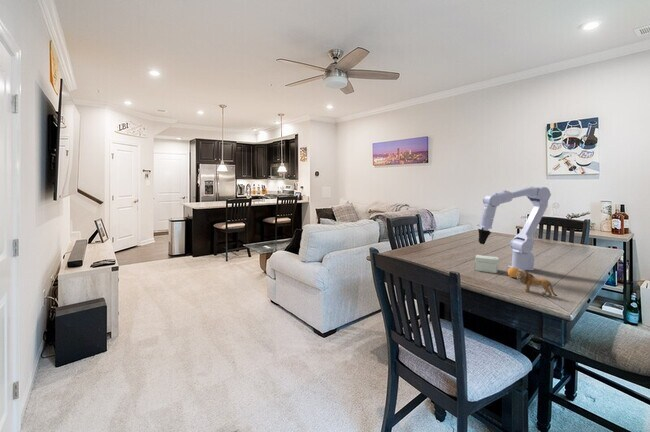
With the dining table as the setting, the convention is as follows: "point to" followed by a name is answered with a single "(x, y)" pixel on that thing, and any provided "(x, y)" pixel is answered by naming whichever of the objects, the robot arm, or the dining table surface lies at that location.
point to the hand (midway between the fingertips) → (481, 243)
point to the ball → (512, 272)
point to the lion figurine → (534, 282)
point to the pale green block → (486, 263)
